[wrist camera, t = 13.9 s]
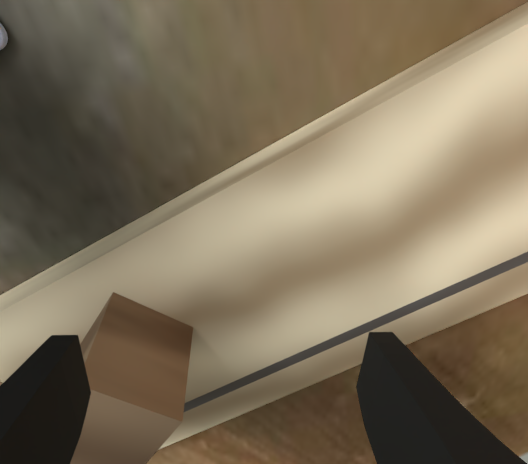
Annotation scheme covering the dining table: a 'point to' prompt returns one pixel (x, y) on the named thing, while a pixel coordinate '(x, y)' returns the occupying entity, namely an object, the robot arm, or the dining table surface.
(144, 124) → the dining table surface
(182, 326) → the block
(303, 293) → the pine board
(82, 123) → the dining table surface
